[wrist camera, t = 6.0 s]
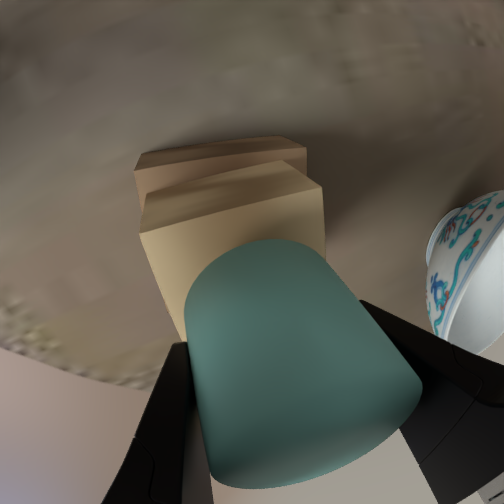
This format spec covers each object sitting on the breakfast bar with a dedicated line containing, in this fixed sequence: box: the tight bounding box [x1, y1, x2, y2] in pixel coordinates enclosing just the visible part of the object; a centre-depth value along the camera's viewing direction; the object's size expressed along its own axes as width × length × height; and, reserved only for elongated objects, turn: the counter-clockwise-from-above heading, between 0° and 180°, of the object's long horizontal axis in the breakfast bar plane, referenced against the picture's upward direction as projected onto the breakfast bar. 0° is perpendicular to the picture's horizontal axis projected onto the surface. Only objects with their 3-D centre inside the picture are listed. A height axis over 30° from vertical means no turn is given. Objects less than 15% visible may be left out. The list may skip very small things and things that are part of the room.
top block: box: [139, 160, 326, 342], centre depth 13 cm, size 6×6×4 cm
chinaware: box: [426, 190, 504, 355], centre depth 21 cm, size 15×15×8 cm
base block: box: [134, 135, 307, 313], centre depth 16 cm, size 8×8×4 cm
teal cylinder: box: [184, 239, 423, 489], centre depth 8 cm, size 5×5×5 cm
